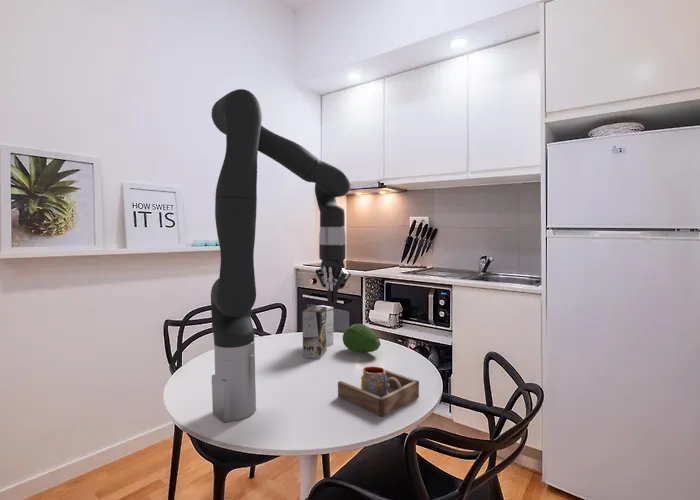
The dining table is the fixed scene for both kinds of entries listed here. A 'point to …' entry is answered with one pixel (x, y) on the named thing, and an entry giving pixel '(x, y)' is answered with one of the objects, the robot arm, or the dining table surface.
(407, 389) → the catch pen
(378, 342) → the fruit
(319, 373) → the dining table surface
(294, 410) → the dining table surface
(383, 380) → the mug
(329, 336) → the syrup box
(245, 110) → the robot arm
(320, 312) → the coffee box
